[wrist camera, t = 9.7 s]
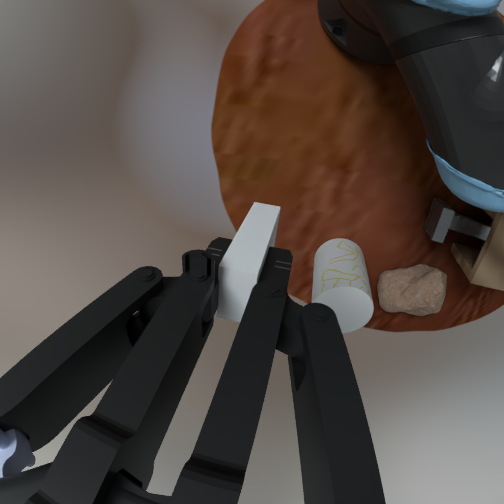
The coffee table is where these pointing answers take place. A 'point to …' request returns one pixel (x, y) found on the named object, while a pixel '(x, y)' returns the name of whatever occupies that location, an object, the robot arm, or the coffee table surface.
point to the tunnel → (485, 256)
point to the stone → (412, 290)
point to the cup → (343, 283)
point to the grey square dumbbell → (452, 223)
